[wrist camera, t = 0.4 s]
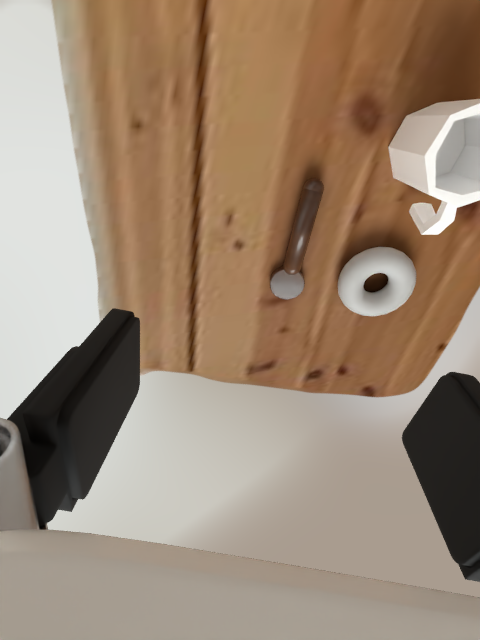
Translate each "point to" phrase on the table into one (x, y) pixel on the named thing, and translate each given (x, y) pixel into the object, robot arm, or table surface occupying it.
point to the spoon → (298, 243)
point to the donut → (367, 265)
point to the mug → (439, 159)
